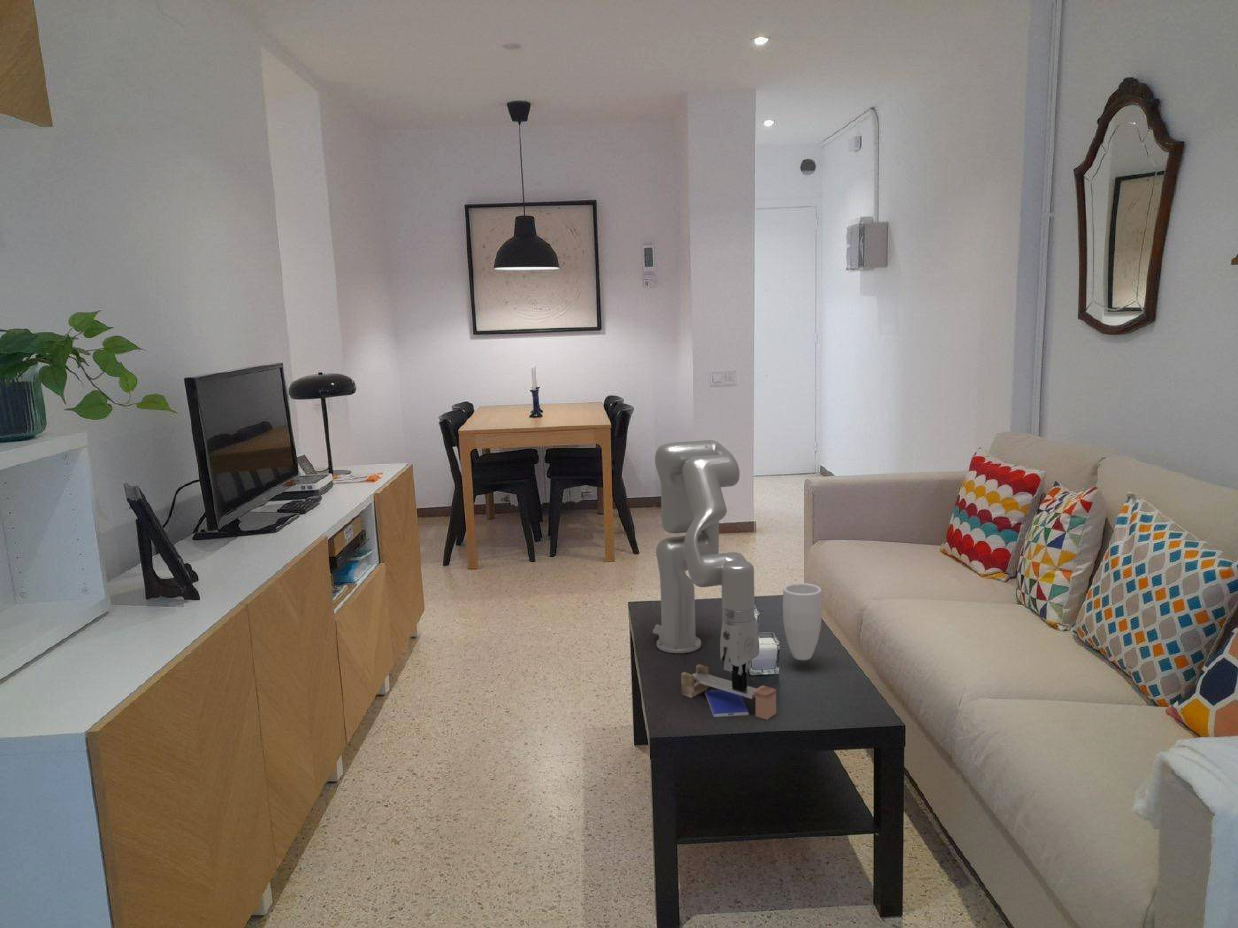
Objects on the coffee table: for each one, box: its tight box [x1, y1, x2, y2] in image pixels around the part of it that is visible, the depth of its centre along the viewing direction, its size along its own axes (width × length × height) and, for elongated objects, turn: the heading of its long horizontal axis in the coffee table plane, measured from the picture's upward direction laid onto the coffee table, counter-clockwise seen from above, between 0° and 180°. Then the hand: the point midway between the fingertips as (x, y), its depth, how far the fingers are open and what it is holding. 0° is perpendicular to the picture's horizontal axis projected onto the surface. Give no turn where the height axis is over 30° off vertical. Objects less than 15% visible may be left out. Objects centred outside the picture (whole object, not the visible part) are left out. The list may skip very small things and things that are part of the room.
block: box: [753, 685, 777, 721], centre depth 193 cm, size 4×4×6 cm
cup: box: [782, 582, 823, 661], centre depth 217 cm, size 10×10×22 cm
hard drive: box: [704, 689, 750, 718], centre depth 199 cm, size 2×8×12 cm
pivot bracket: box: [680, 663, 710, 699], centre depth 206 cm, size 3×7×6 cm, turn 137°
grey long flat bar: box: [692, 671, 757, 700], centre depth 200 cm, size 19×4×1 cm, turn 47°
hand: (739, 688), depth 197 cm, fingers closed
